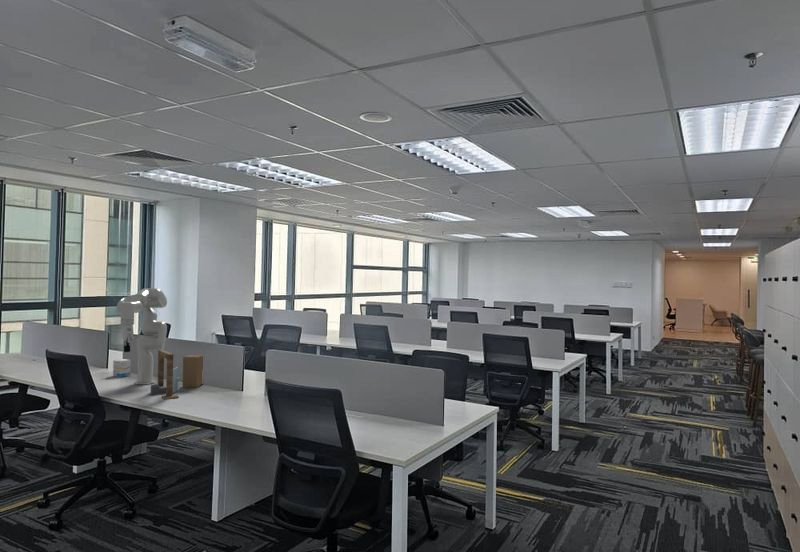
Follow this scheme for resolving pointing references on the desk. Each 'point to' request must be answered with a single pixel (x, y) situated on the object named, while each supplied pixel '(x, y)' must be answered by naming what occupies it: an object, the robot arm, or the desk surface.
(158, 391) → the wedge
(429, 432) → the desk surface
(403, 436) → the desk surface
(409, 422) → the desk surface
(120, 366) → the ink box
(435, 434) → the desk surface
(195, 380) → the wooden block
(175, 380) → the door leaf
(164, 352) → the door frame
